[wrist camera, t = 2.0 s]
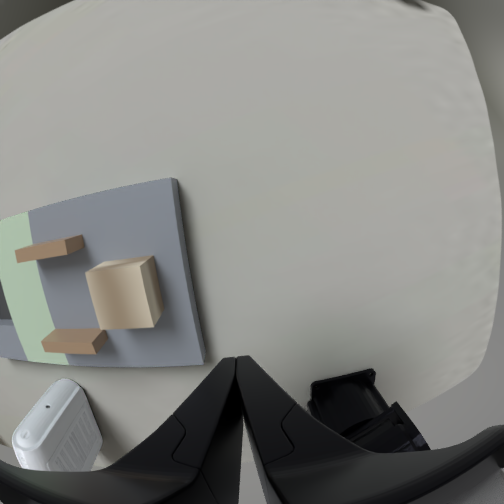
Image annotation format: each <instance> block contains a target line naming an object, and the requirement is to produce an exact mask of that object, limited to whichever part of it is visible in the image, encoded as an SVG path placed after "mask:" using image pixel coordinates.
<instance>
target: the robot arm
mask: <svg viewBox="0 0 504 504" xmlns="http://www.w3.org/2000/svg"><path fill="white" fill-rule="evenodd" d="M370 373H371V374H370ZM375 375H376V372H375V371H374V369H372V368H371V369H367V370H363V371H359V372H355V373H351V374H347V375H342V376H338V377H334V378H329V379H324V380H319V381H315V382H313V383H312V384H311V401H308V403H307V411H306V410H304V409H303V408H302V407H301V406H300V405H299V404H297V402H296V401H295V400H294V399H293V398H292V397H291V396H289V395H288V394H287V393H286V392H285V391H284V390H283V389H282V388H281V387H280V386H279V385H278V384H277V383H276V382H275V381H274V380H273V379H272V378H271V377H270V376H269V375H268V374H267V373H266V372H265V371H264V370H263V369H262V368H261V367H260V366H259V365H258V364H257V363H256V362H255V361H254V360H253V359H252V358H251V357H250V356H249V355H246V356H238V357H237V358H235V357H228V358H223V359H222V360H221V361H220V362H219V363H218V364H217V366H216V367H215V368H214V369H213V370H212V371H211V372H210V373H209V375H208V376H207V377H206V378H205V379H204V380H203V381H202V382H201V383H200V385H199V386H198V387H197V388H196V389H195V390H194V391H193V392H192V393H191V394H190V395H189V397H188V398H187V399H186V400H185V401H184V402H183V403H182V404H181V405H180V406H179V407H178V408H177V409H176V411H175V412H174V413H173V415H171V416H170V417H169V418H168V419H167V420H166V421H165V422H164V423H163V424H162V425H161V426H160V427H159V428H158V429H157V430H156V431H155V432H153V433H152V434H151V435H150V436H149V437H147V438H146V439H145V440H144V441H143V442H141V443H140V444H139V445H138V446H136V447H135V448H134V449H132V450H131V451H130V452H128V453H127V454H126V455H124V456H123V457H122V458H120V459H119V460H118V461H116V462H115V463H113V464H112V465H110V466H108V467H106V468H104V469H101V470H97V471H85V472H61V471H40V470H30V469H24V468H19V467H15V466H12V465H10V464H7V463H5V462H3V461H2V460H0V500H1V502H2V503H3V504H238V501H239V500H238V499H239V485H240V469H241V453H242V437H243V417H244V421H245V426H246V430H247V434H248V438H249V442H250V445H251V449H252V453H253V457H254V460H255V464H256V468H257V471H258V475H259V478H260V481H261V485H262V489H263V492H264V496H265V499H266V502H267V504H504V469H503V468H504V425H498V426H492V427H489V428H487V429H485V430H483V431H482V432H480V433H479V434H477V435H476V436H474V437H473V438H471V439H469V440H467V441H465V442H463V443H460V444H458V445H454V446H451V447H447V448H442V449H436V450H431V449H430V448H429V446H428V444H427V443H426V441H425V440H424V438H423V436H422V435H421V433H420V432H419V431H418V429H417V428H416V426H415V425H414V423H413V422H412V421H411V420H410V418H409V417H408V416H407V414H406V413H405V412H404V410H403V409H402V408H401V407H400V405H399V404H398V403H397V401H396V402H395V403H393V404H392V405H391V407H390V408H389V406H388V405H387V403H386V402H385V400H384V399H383V397H382V396H381V394H380V393H379V391H378V390H377V388H376V387H375V385H374V382H375ZM315 386H317V387H315Z"/></svg>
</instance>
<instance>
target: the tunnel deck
mask: <svg viewBox="0 0 504 504" xmlns="http://www.w3.org/2000/svg"><path fill="white" fill-rule="evenodd" d="M151 255H153V256H154V261H155V266H156V272H157V277H158V282H159V287H160V291H161V296H162V301H163V305H164V311H163V312H162V314H161V316H160V318H159V319H158V321H157V323H156V324H155V326H154V327H150V328H133V329H110V330H101V329H100V326H99V323H98V319H97V316H96V313H95V309H94V306H93V302H92V298H91V295H90V291H89V287H88V283H87V279H86V275H85V272H87V271H89V270H90V269H92V268H94V267H96V266H97V265H99V264H101V263H103V262H106V261H113V260H120V259H128V258H135V257H143V256H151ZM205 353H206V350H205V346H204V341H203V336H202V332H201V327H200V322H199V317H198V312H197V307H196V301H195V296H194V291H193V285H192V279H191V274H190V268H189V262H188V256H187V249H186V243H185V236H184V230H183V223H182V215H181V208H180V200H179V192H178V184H177V179H175V178H166V179H160V180H155V181H149V182H144V183H139V184H134V185H129V186H124V187H119V188H115V189H110V190H106V191H102V192H97V193H93V194H89V195H85V196H81V197H77V198H73V199H69V200H65V201H62V202H58V203H54V204H51V205H47V206H44V207H41V208H37V209H34V210H31V211H27V212H24V213H21V214H18V215H15V216H12V217H9V218H6V219H3V220H0V357H3V358H9V359H16V360H23V361H31V362H40V363H50V364H61V365H75V366H94V367H167V366H188V365H203V364H204V359H205Z"/></svg>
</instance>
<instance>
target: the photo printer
mask: <svg viewBox="0 0 504 504" xmlns="http://www.w3.org/2000/svg"><path fill="white" fill-rule="evenodd" d="M102 442H103V440H102V436H101V433H100V431H99V428H98V426H97V423H96V421H95V418H94V416H93V413H92V411H91V408H90V405H89V403H88V400H87V398H86V395H85V393H84V391H83V389H82V388H81V387H80V386H79V385H78V384H77V383H76V382H74V381H72V380H70V379H66V378H63V379H60V380H59V381H55V382H54V383H53V384H52V385H51V386H50V387H49V388H48V390H47V391H46V392H45V393H44V394H43V396H42V397H41V398H40V399H39V401H38V402H37V403H36V404H35V405H34V407H33V408H32V409H31V410H30V412H29V413H28V414H27V415H26V417H25V418H24V419H23V421H22V422H21V423H20V424H19V426H18V427H17V428H16V430H15V431H14V433H13V436H12V444H13V448H14V451H15V454H16V456H17V459H18V460H19V463H20V465H21V467H22V468H24V469H30V470H40V471H61V472H85V471H91V468H92V466H93V464H94V462H95V459H96V457H97V455H98V453H99V451H100V448H101V446H102Z"/></svg>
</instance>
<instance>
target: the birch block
mask: <svg viewBox="0 0 504 504" xmlns="http://www.w3.org/2000/svg"><path fill="white" fill-rule="evenodd" d="M85 275H86V279H87V283H88V287H89V291H90V295H91V298H92V302H93V306H94V309H95V313H96V316H97V319H98V323H99V326H100V329H101V330H110V329H133V328H150V327H154V326H155V324H156V323H157V321H158V319H159V318H160V316H161V314H162V312H163V311H164V305H163V301H162V296H161V291H160V287H159V282H158V277H157V272H156V266H155V261H154V256H153V255H151V256H143V257H135V258H128V259H120V260H113V261H106V262H103V263H101V264H99V265H97V266H96V267H94V268H92V269H90V270H89V271H87V272H85Z"/></svg>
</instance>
